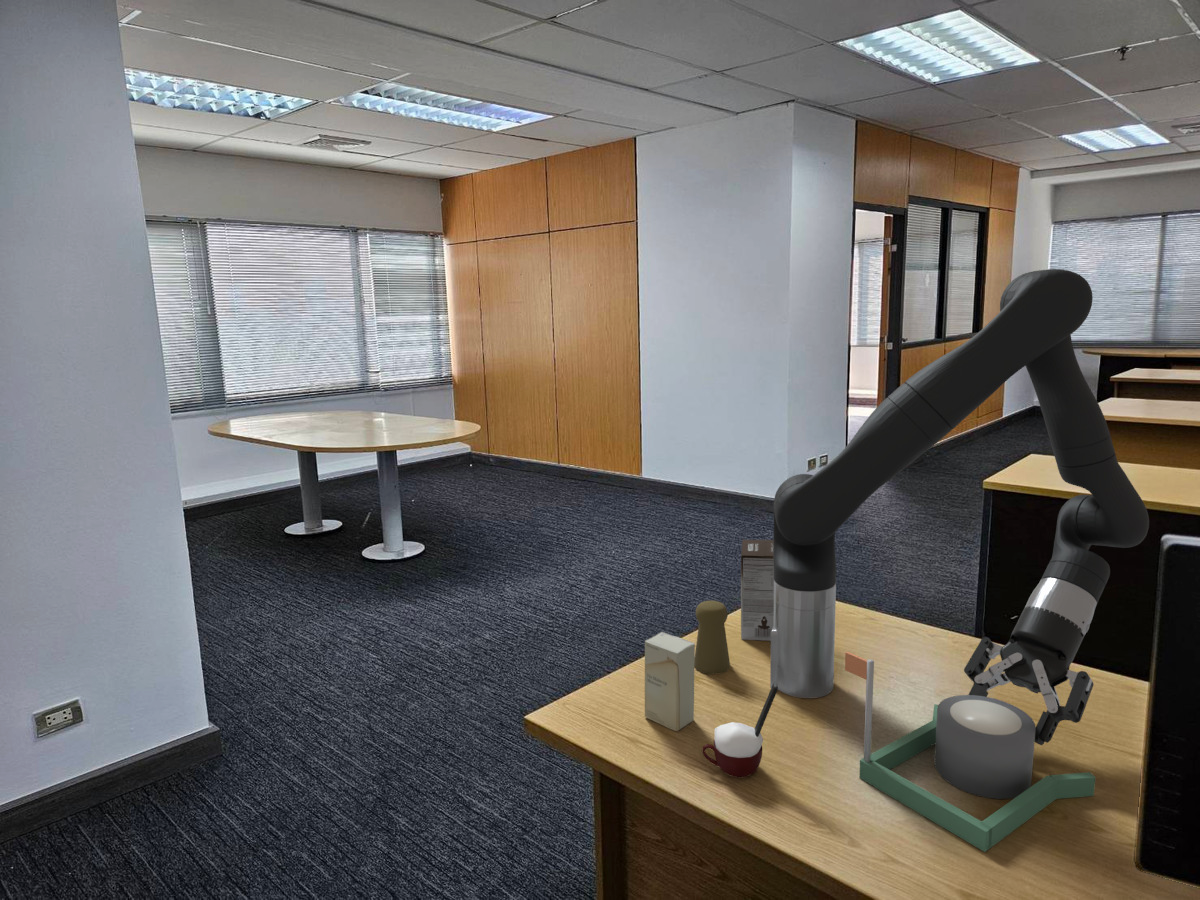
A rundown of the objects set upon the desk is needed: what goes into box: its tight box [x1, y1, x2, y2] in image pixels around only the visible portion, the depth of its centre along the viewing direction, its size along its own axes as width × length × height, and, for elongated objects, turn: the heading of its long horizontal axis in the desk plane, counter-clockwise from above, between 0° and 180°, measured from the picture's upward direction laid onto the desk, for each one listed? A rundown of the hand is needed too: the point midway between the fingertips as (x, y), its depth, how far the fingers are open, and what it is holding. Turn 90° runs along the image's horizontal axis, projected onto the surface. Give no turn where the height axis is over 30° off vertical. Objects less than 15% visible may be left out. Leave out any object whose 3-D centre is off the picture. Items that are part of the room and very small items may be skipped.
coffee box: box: [740, 539, 774, 642], centre depth 139 cm, size 9×6×16 cm
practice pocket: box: [844, 651, 1096, 853], centre depth 94 cm, size 20×22×16 cm
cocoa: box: [701, 682, 779, 778], centre depth 98 cm, size 10×6×12 cm, turn 61°
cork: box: [694, 600, 731, 675], centre depth 126 cm, size 6×6×11 cm
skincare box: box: [644, 631, 696, 732], centre depth 111 cm, size 6×4×12 cm
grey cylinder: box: [934, 694, 1036, 800], centre depth 96 cm, size 11×11×8 cm
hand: (1002, 726), depth 99 cm, fingers open, 8 cm apart
